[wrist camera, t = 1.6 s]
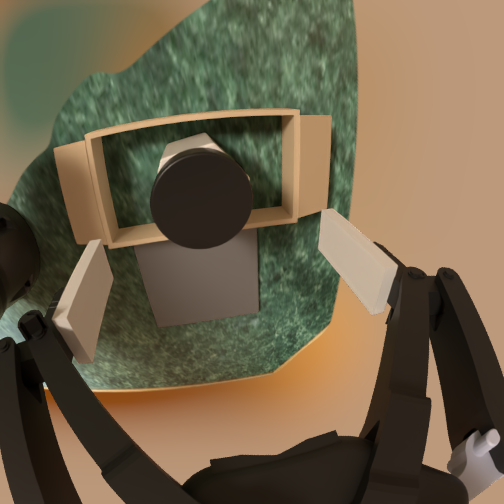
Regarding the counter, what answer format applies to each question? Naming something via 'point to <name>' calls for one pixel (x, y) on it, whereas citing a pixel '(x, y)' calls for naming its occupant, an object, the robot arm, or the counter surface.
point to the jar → (200, 194)
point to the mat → (200, 279)
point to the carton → (293, 124)
